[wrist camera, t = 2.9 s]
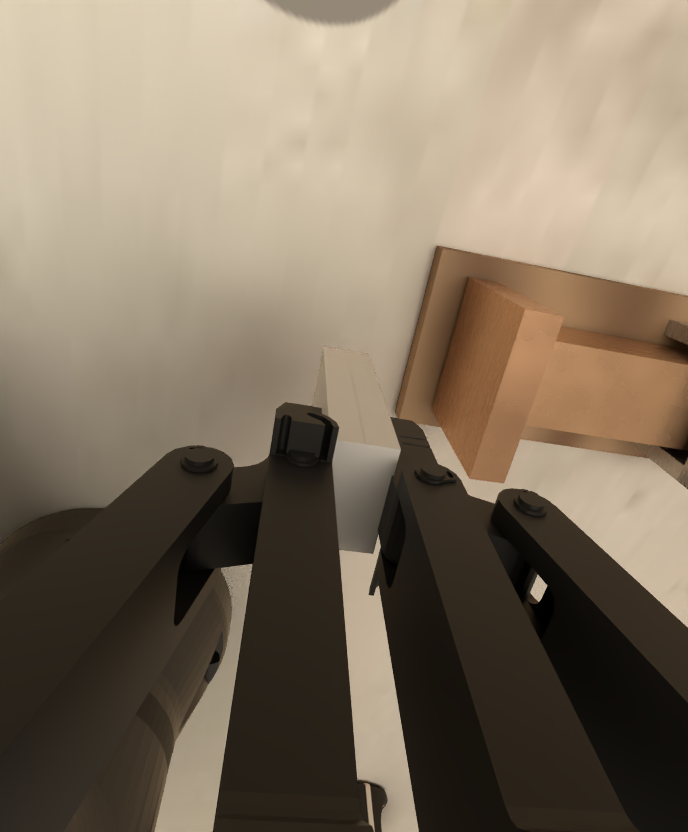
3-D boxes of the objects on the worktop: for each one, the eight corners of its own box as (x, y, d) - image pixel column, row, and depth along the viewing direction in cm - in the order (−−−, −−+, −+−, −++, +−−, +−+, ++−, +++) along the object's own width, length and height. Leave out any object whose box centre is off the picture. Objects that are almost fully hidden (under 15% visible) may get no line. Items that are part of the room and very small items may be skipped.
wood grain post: (431, 410, 28) (469, 478, 21) (469, 276, 25) (525, 309, 18) (753, 459, 30) (873, 534, 24) (819, 344, 27) (973, 393, 21)
